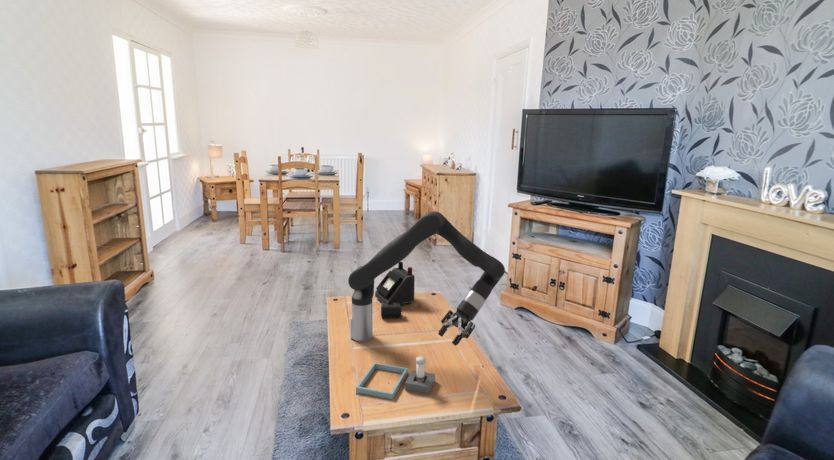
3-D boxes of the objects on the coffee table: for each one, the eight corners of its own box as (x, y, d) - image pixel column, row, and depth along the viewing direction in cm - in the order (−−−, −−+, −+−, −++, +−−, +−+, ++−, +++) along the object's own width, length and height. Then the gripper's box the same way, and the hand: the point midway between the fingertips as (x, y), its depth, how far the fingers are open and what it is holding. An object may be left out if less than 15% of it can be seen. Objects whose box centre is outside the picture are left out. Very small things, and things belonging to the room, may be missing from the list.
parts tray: (355, 394, 161) (355, 387, 160) (374, 369, 177) (374, 362, 177) (392, 401, 157) (392, 394, 156) (407, 375, 174) (407, 368, 173)
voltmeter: (374, 298, 249) (374, 264, 244) (400, 294, 257) (400, 260, 252) (387, 309, 235) (387, 273, 231) (414, 303, 243) (414, 268, 239)
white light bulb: (414, 387, 164) (414, 360, 161) (416, 382, 167) (417, 355, 165) (423, 389, 163) (424, 362, 160) (426, 383, 166) (426, 357, 164)
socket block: (405, 392, 162) (405, 382, 161) (412, 379, 171) (412, 370, 170) (428, 397, 160) (429, 387, 159) (434, 383, 168) (435, 374, 167)
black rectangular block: (381, 320, 222) (381, 307, 220) (380, 314, 229) (380, 302, 227) (401, 319, 223) (401, 307, 222) (399, 313, 230) (400, 301, 229)
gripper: (454, 294, 175) (430, 327, 172) (478, 306, 164) (453, 342, 160) (464, 303, 179) (440, 337, 176) (488, 316, 168) (464, 352, 164)
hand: (446, 339), depth 168 cm, fingers open, 8 cm apart
